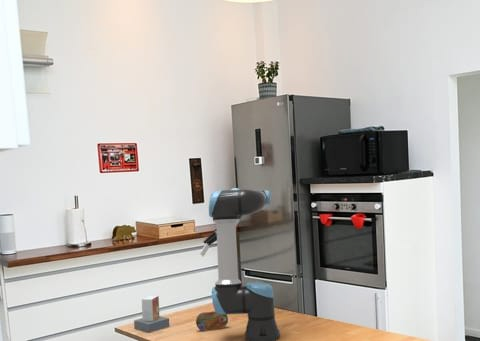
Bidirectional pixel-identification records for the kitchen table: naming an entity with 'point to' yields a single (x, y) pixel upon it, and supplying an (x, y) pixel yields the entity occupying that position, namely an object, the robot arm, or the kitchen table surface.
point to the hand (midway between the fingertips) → (210, 255)
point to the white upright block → (150, 308)
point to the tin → (211, 321)
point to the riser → (151, 324)
